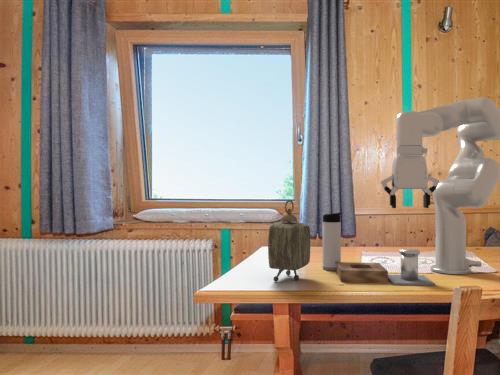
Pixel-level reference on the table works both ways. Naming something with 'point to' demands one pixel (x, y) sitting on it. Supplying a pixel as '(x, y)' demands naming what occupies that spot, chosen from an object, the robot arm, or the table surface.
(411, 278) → the end cap
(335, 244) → the travel mug
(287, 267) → the tabletop clock
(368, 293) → the table surface
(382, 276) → the brown wooden square slab
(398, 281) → the mat
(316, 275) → the table surface
